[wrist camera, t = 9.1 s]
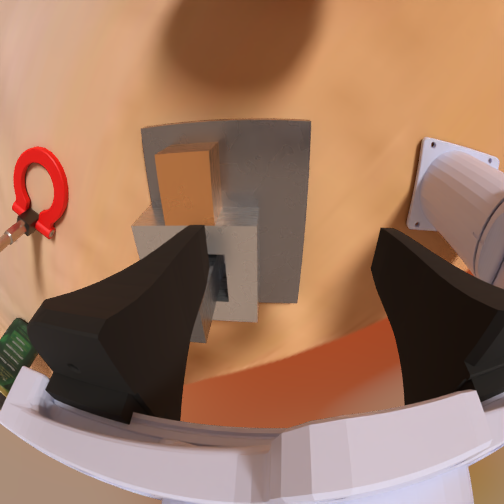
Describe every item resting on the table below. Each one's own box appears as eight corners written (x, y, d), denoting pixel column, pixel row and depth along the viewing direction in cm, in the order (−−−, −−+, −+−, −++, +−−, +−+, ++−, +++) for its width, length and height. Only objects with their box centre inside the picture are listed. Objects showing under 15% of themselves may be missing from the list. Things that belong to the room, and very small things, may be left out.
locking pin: (222, 239, 22) (199, 311, 15) (224, 269, 24) (206, 343, 17) (186, 238, 22) (152, 306, 16) (191, 268, 24) (163, 338, 17)
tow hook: (28, 133, 18) (14, 203, 23) (-69, 177, 7) (-59, 262, 12) (80, 168, 21) (60, 239, 25) (-23, 234, 10) (-11, 316, 14)
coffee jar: (17, 310, 34) (-31, 386, 19) (47, 339, 37) (5, 418, 22) (12, 325, 38) (-28, 390, 23) (38, 350, 41) (3, 417, 26)
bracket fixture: (309, 120, 17) (317, 126, 14) (296, 296, 26) (298, 327, 23) (140, 127, 18) (114, 137, 15) (170, 290, 27) (158, 318, 24)
